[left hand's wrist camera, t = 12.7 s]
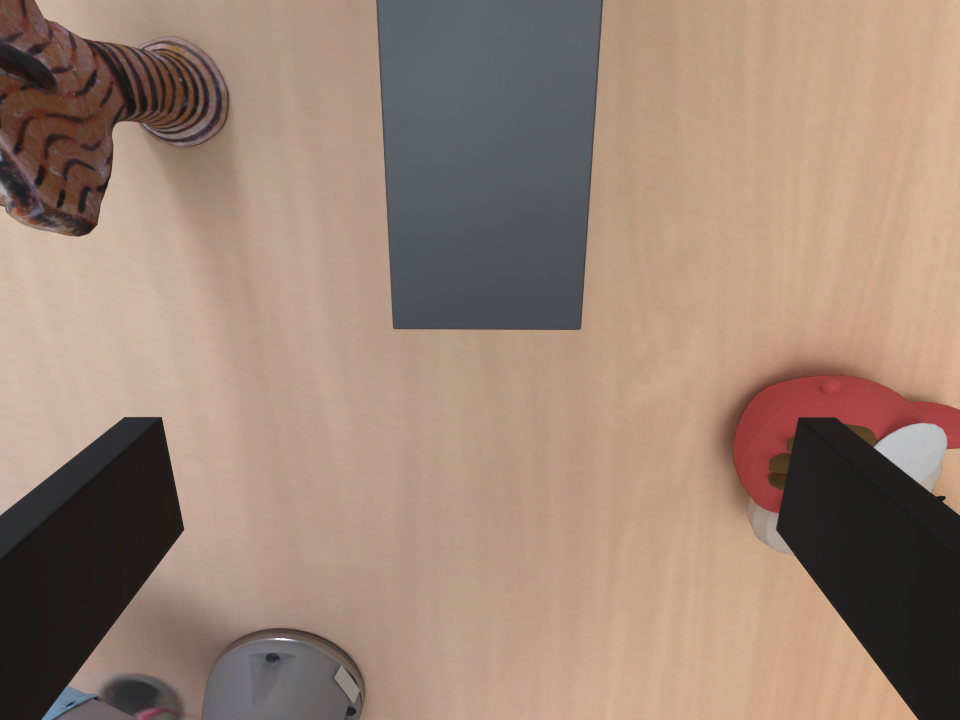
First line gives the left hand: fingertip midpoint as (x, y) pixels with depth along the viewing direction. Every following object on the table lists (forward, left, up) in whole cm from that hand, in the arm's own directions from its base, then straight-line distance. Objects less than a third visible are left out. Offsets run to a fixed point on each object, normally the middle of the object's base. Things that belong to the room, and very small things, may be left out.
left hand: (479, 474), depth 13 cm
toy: (+7, -39, -35) cm, 52 cm away
